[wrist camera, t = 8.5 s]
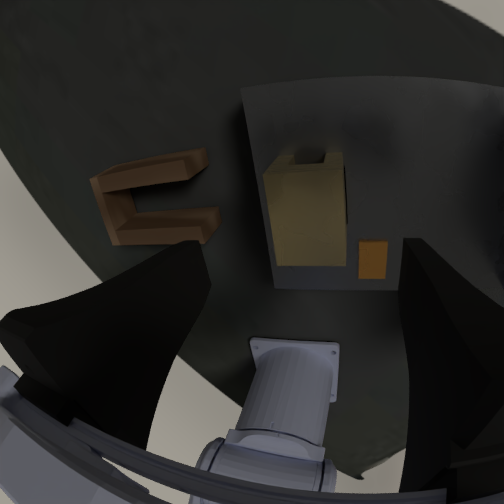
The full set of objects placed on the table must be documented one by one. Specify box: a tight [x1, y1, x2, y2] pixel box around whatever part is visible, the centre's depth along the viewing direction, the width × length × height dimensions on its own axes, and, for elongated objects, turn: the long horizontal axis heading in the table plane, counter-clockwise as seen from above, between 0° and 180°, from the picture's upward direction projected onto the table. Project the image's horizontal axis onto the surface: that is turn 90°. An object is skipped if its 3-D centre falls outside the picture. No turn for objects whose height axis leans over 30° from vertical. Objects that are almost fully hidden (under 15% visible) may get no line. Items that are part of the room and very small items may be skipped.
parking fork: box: [90, 147, 222, 245], centre depth 20 cm, size 5×8×3 cm
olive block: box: [263, 152, 347, 266], centre depth 15 cm, size 4×3×6 cm
